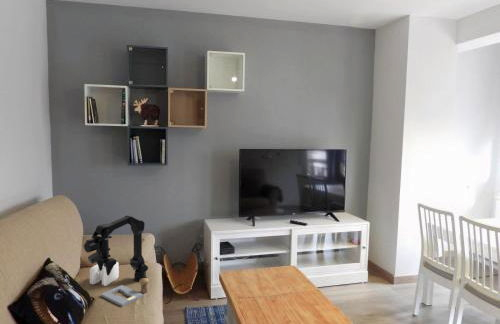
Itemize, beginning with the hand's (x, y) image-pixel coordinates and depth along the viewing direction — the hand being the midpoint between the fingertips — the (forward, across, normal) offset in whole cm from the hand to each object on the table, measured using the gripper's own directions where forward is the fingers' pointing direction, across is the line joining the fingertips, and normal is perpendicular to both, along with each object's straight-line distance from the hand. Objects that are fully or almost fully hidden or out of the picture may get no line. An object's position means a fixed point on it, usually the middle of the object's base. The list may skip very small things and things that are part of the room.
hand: (104, 272), depth 201 cm
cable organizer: (+14, -18, +8) cm, 24 cm away
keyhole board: (+14, +8, +6) cm, 17 cm away
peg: (+14, +12, +18) cm, 26 cm away
